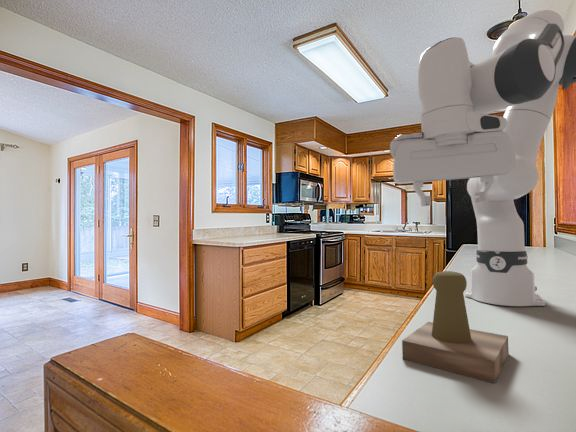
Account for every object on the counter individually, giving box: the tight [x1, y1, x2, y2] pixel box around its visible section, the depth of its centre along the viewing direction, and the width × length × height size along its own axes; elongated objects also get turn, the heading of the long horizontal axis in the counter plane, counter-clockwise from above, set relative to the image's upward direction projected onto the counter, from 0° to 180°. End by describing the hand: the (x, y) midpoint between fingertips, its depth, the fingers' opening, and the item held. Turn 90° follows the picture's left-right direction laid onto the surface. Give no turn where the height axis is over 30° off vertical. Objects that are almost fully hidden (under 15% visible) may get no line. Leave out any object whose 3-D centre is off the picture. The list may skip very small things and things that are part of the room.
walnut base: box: [401, 321, 509, 384], centre depth 54 cm, size 13×13×3 cm
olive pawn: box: [432, 270, 471, 344], centre depth 54 cm, size 6×6×11 cm
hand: (453, 204), depth 59 cm, fingers open, 8 cm apart
